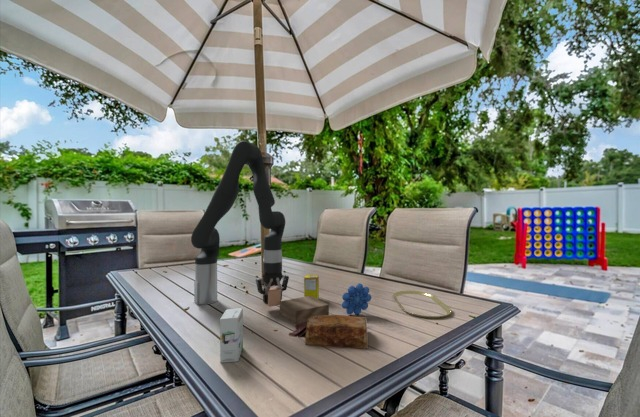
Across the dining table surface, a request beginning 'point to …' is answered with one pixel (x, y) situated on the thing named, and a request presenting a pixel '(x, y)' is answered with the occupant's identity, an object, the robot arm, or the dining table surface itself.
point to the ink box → (231, 335)
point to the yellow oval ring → (427, 296)
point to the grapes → (356, 299)
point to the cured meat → (334, 331)
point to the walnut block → (303, 308)
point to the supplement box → (311, 286)
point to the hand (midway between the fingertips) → (272, 302)
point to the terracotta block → (274, 297)
